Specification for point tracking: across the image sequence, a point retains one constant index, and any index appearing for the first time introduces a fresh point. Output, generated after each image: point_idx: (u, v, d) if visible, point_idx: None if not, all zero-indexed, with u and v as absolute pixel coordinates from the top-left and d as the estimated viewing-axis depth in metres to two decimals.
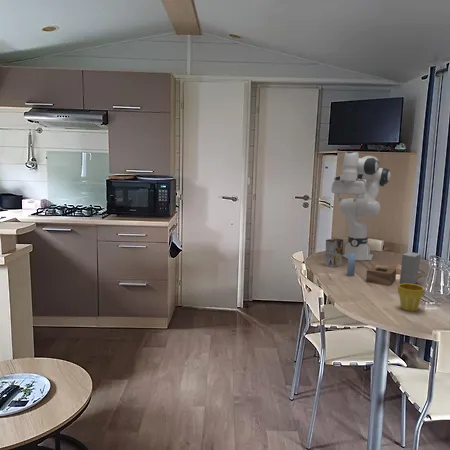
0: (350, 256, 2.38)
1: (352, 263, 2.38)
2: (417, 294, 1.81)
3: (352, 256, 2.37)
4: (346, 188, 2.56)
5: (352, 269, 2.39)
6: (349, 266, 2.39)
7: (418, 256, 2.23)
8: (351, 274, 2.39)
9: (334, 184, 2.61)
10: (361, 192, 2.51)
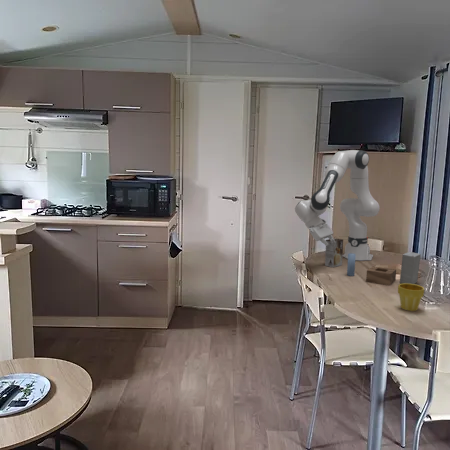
0: (350, 256, 2.38)
1: (352, 263, 2.38)
2: (417, 294, 1.81)
3: (352, 256, 2.37)
4: None
5: (352, 269, 2.39)
6: (349, 266, 2.39)
7: (418, 256, 2.23)
8: (351, 274, 2.39)
9: None
10: None
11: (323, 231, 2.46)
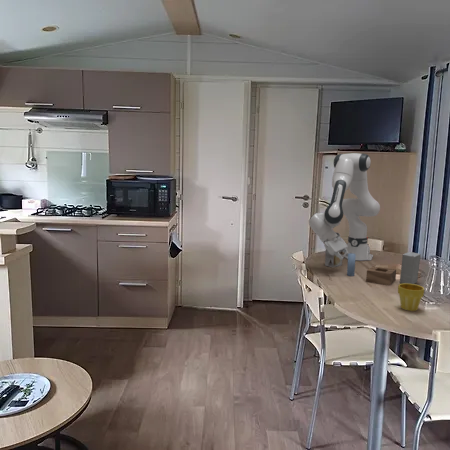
0: (350, 256, 2.38)
1: (352, 263, 2.38)
2: (417, 294, 1.81)
3: (352, 256, 2.37)
4: None
5: (352, 269, 2.39)
6: (349, 266, 2.39)
7: (418, 256, 2.23)
8: (351, 274, 2.39)
9: None
10: None
11: (338, 245, 2.42)
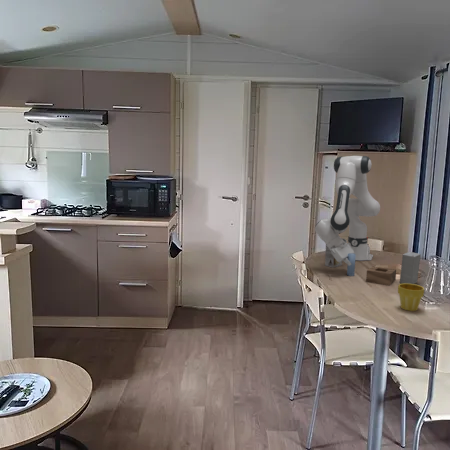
0: (350, 256, 2.38)
1: (352, 263, 2.38)
2: (417, 294, 1.81)
3: (352, 256, 2.37)
4: None
5: (352, 269, 2.39)
6: (349, 266, 2.39)
7: (418, 256, 2.23)
8: (351, 274, 2.39)
9: None
10: None
11: (344, 251, 2.40)
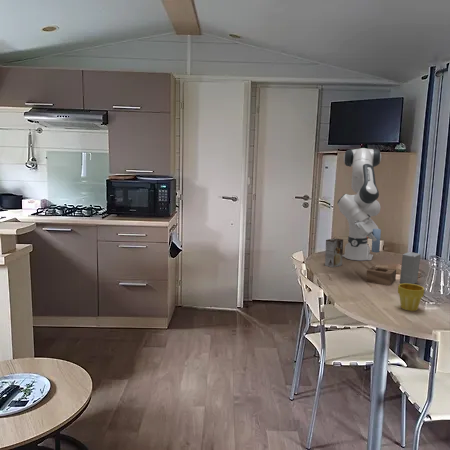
0: (375, 231, 2.27)
1: (377, 239, 2.27)
2: (417, 294, 1.81)
3: (377, 231, 2.26)
4: None
5: (377, 245, 2.27)
6: (374, 242, 2.28)
7: (418, 256, 2.23)
8: (376, 250, 2.28)
9: None
10: None
11: (369, 226, 2.29)
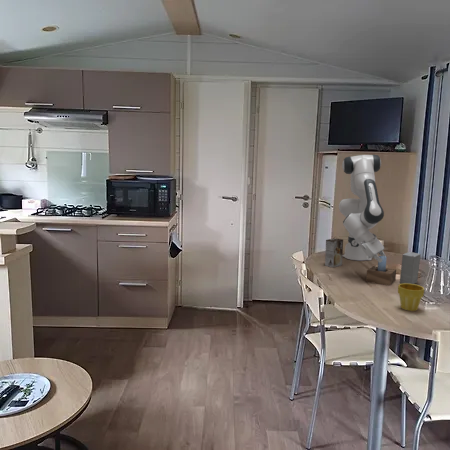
0: None
1: (383, 266, 2.27)
2: (417, 294, 1.81)
3: (383, 259, 2.27)
4: None
5: None
6: (380, 269, 2.28)
7: (418, 256, 2.23)
8: None
9: None
10: None
11: (375, 247, 2.28)
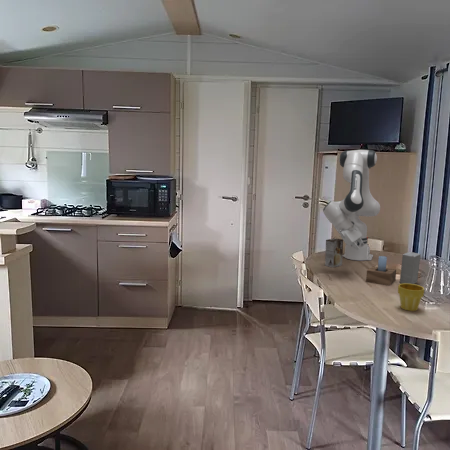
0: (381, 259, 2.27)
1: (383, 266, 2.27)
2: (417, 294, 1.81)
3: (383, 259, 2.26)
4: None
5: None
6: (380, 269, 2.28)
7: (418, 256, 2.23)
8: None
9: None
10: None
11: (353, 234, 2.35)
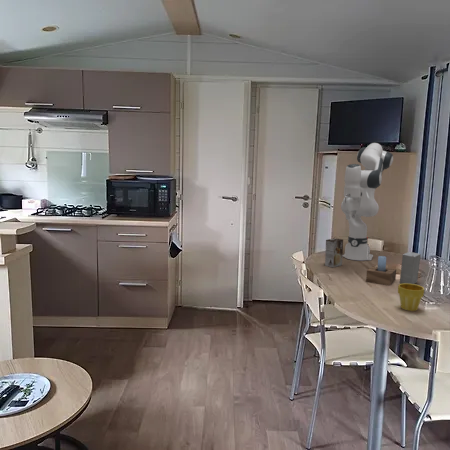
0: (381, 259, 2.27)
1: (383, 266, 2.27)
2: (417, 294, 1.81)
3: (383, 259, 2.26)
4: None
5: None
6: (379, 269, 2.28)
7: (418, 256, 2.23)
8: None
9: None
10: None
11: (353, 205, 2.38)
